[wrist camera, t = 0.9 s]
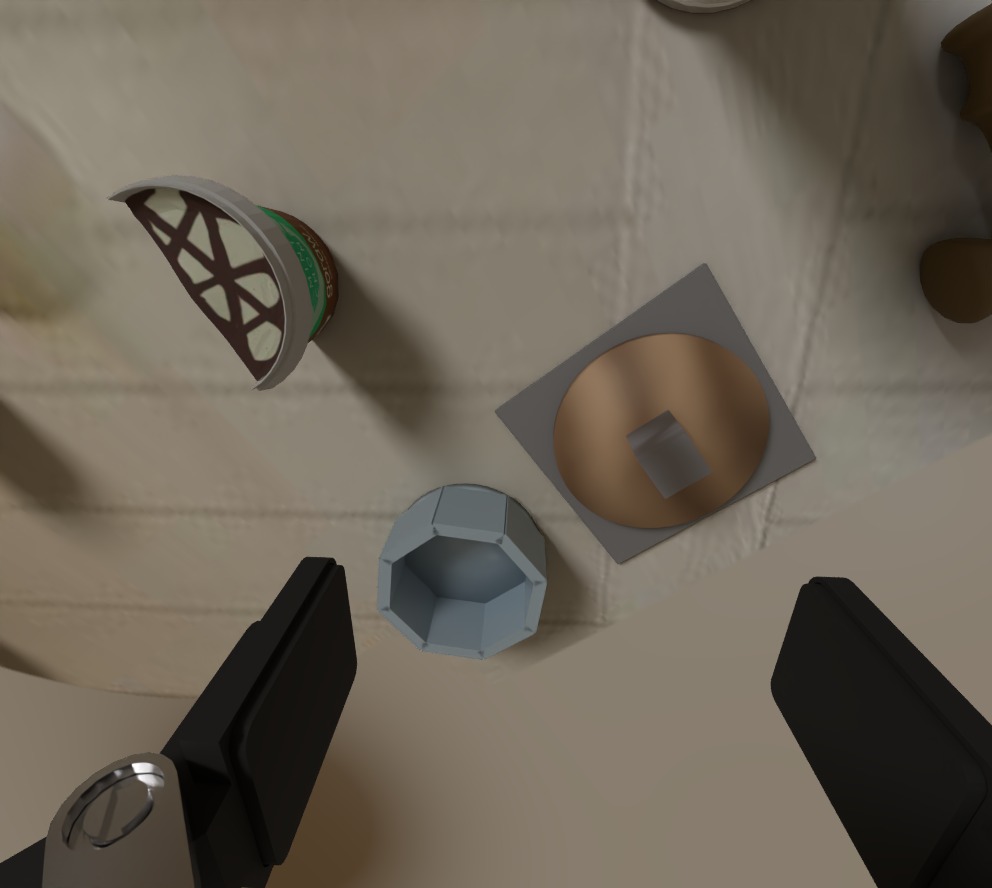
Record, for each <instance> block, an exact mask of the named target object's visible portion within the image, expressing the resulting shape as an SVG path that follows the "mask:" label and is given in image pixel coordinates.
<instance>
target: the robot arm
mask: <svg viewBox="0 0 992 888" xmlns="http://www.w3.org/2000/svg"><path fill="white" fill-rule="evenodd" d="M657 1H659V2H661V3H663V4H665V5H667V6H669V7H671V8H674V9H678V10H682V11H686V12H690V13H714V12H718V11H722V10H726V9H731V8H735V7H737V6H739V5H741V4H744V3H746V2H748V1H750V0H657ZM356 669H357V657H356V650H355V643H354V635H353V628H352V621H351V613H350V606H349V599H348V591H347V584H346V577H345V570H344V567H343V566H342V565H337V564H336V561H335V559H334V558H326V557H305V558H304V559H303V560H302V561H301V562H300V564H299V565H298V567H297V568H296V570H295V571H294V573H293V574H292V575H291V577H290V578H289V580H288V581H287V583H286V584H285V586H284V587H283V589H282V590H281V592H280V593H279V594H278V596H277V597H276V599H275V600H274V602H273V603H272V605H271V606H270V608H269V609H268V611H267V612H266V613H265V615H264V616H263V618H262V619H261V621H256V622H255V623H253V624H252V625H251V626H250V627H249V628H248V629H247V630H246V632H245V633H244V634H243V636H242V637H241V639H240V640H239V641H238V643H237V644H236V646H235V647H234V649H233V650H232V651H231V653H230V654H229V656H228V657H227V659H226V660H225V661H224V663H223V664H222V666H221V667H220V668H219V670H218V671H217V673H216V674H215V676H214V677H213V678H212V680H211V681H210V683H209V684H208V686H207V687H206V688H205V690H204V691H203V693H202V694H201V695H200V697H199V698H198V700H197V701H196V703H195V704H194V706H193V707H192V708H191V710H190V711H189V712H188V714H187V715H186V717H185V718H184V720H183V721H182V722H181V724H180V725H179V727H178V728H177V730H176V731H175V732H174V734H173V735H172V737H171V738H170V740H169V741H168V742H167V744H166V745H165V747H164V748H163V750H162V751H161V752H160V754H156V753H151V752H147V753H141V754H134V755H131V756H128V757H125V758H123V759H120V760H117V761H115V762H113V763H111V764H109V765H108V766H106V767H104V768H103V769H101V770H99V771H98V772H96V773H94V774H93V775H92V776H91V777H89V778H88V779H87V780H86V781H84V782H83V783H82V784H81V785H79V786H78V787H77V788H76V789H75V790H74V791H73V792H72V794H71V795H70V796H69V797H68V798H67V799H66V800H65V801H64V803H63V804H62V805H61V806H60V808H59V810H58V811H57V813H56V815H55V817H54V818H53V820H52V821H51V823H50V827H49V831H48V835H47V837H45V838H43V839H42V840H40V841H38V842H36V843H35V844H33V845H31V846H30V847H28V848H26V849H24V850H23V851H21V852H19V853H17V854H16V855H14V856H12V857H10V858H9V859H7V860H5V861H3V862H2V863H0V888H241V887H248V888H265V886H266V883H267V881H268V878H269V876H270V873H271V871H272V868H273V866H274V865H281V864H282V863H283V862H284V860H285V859H286V857H287V855H288V852H289V850H290V847H291V845H292V842H293V839H294V837H295V834H296V831H297V829H298V826H299V824H300V821H301V818H302V816H303V813H304V810H305V808H306V805H307V803H308V800H309V797H310V795H311V792H312V789H313V787H314V784H315V781H316V779H317V776H318V774H319V771H320V768H321V766H322V763H323V760H324V758H325V755H326V752H327V750H328V747H329V745H330V742H331V739H332V737H333V734H334V731H335V729H336V726H337V723H338V721H339V718H340V715H341V713H342V710H343V708H344V705H345V702H346V699H347V697H348V695H349V692H350V689H351V686H352V684H353V681H354V678H355V675H356ZM771 691H772V695H773V698H774V700H775V702H776V704H777V706H778V708H779V709H780V711H781V713H782V715H783V717H784V718H785V720H786V722H787V724H788V726H789V728H790V729H791V731H792V733H793V735H794V737H795V738H796V740H797V742H798V744H799V746H800V747H801V749H802V751H803V753H804V755H805V757H806V758H807V760H808V762H809V764H810V765H811V767H812V769H813V771H814V773H815V775H816V776H817V778H818V780H819V782H820V784H821V786H822V787H823V789H824V791H825V793H826V795H827V796H828V798H829V800H830V802H831V804H832V806H833V807H834V809H835V811H836V813H837V815H838V816H839V818H840V820H841V822H842V824H843V825H844V827H845V829H846V831H847V833H848V834H849V836H850V838H851V840H852V842H853V844H854V846H855V847H856V849H857V851H858V853H859V855H860V856H861V858H862V860H863V862H864V864H865V865H866V867H867V869H868V871H869V873H870V875H871V876H872V878H873V879H874V882H875V883H876V885H877V887H878V888H992V725H991V724H990V723H989V722H988V721H987V720H986V719H985V718H984V717H983V716H982V715H981V714H980V713H979V712H978V711H977V710H976V709H975V708H974V707H973V705H971V703H970V702H969V701H968V700H967V699H966V698H965V697H964V696H963V695H962V694H961V693H960V692H959V691H958V690H957V689H956V688H955V687H954V686H953V685H952V684H951V683H950V682H949V681H948V680H947V679H946V678H945V677H944V676H943V675H942V674H941V672H939V670H938V669H937V668H936V667H935V666H934V665H933V664H932V663H931V662H930V661H929V660H928V659H927V658H926V657H925V656H924V655H923V654H922V653H921V652H920V651H919V650H918V649H917V648H916V647H915V646H914V645H913V644H912V643H911V642H910V641H909V640H908V638H906V636H905V635H904V634H903V633H902V632H901V631H900V630H899V629H898V628H897V627H896V626H895V625H894V624H893V623H892V622H891V621H890V620H889V619H888V618H887V617H886V616H885V615H884V614H883V613H882V612H881V611H880V610H879V609H878V608H877V607H876V606H875V604H874V603H873V602H872V601H871V600H869V598H868V597H867V596H866V595H865V594H864V593H863V592H862V591H861V590H860V589H859V588H858V587H857V586H856V585H855V584H854V583H853V582H852V581H850V580H849V579H847V578H840V577H813V578H812V579H811V580H810V581H809V583H808V584H804V585H803V586H802V587H801V589H800V592H799V595H798V598H797V601H796V604H795V608H794V610H793V613H792V616H791V620H790V623H789V626H788V629H787V632H786V635H785V638H784V642H783V645H782V648H781V651H780V654H779V657H778V660H777V663H776V666H775V669H774V672H773V676H772V679H771Z"/></svg>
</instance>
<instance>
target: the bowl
mask: <svg viewBox="0 0 992 888" xmlns="http://www.w3.org/2000/svg"><path fill="white" fill-rule="evenodd" d="M546 586H547V568H546V551H545V539H544V537H543V536H542V535H541V533H540V532H539V531H538V530H537V527H536V525H535V523H534V521H533V519H532V517H531V516H530V515H529V513H528V512H527V511H526V510H525V509H524V508H523V507H522V506H521V505H520V504H519V503H518V502H517V501H515V500H514V499H513V498H511V497H510V496H508V495H506V494H505V493H503V492H500V491H498V490H496V489H493V488H490V487H487V486H482V485H477V484H454V485H447V486H443V487H440V488H437V489H435V490H432V491H430V492H428V493H426V494H425V495H423V496H421V497H420V498H419V499H418V500H416V501H415V502H414V503H413V504H412V505H411V506H410V507H409V509H408V510H407V511H406V512H404V513H403V514H401V515H400V516H398V517H397V518H396V521H395V523H394V525H393V528H392V530H391V532H390V534H389V537H388V539H387V541H386V543H385V546H384V548H383V550H382V552H381V555H380V557H379V569H378V599H377V610H378V612H379V613H380V614H381V615H382V616H383V617H384V618H386V619H387V620H388V621H389V622H390V623H391V624H392V625H393V626H394V627H395V628H396V629H397V630H399V631H400V632H401V633H402V634H403V635H404V636H405V637H406V638H407V639H408V640H409V641H410V642H411V643H413V644H414V645H415V646H416V647H417V648H418V649H419V650H422V651H424V652H431V653H438V654H445V655H452V656H459V657H466V658H473V659H480V660H483V658H484V659H487V658H489V657H491V656H493V655H495V654H497V653H498V652H500V651H502V650H504V649H506V648H508V647H510V646H512V645H514V644H516V643H518V642H520V641H522V640H524V639H526V638H528V637H530V636H531V635H533V634H535V632H536V631H537V626H538V622H539V617H540V613H541V608H542V604H543V599H544V595H545V591H546Z"/></svg>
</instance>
